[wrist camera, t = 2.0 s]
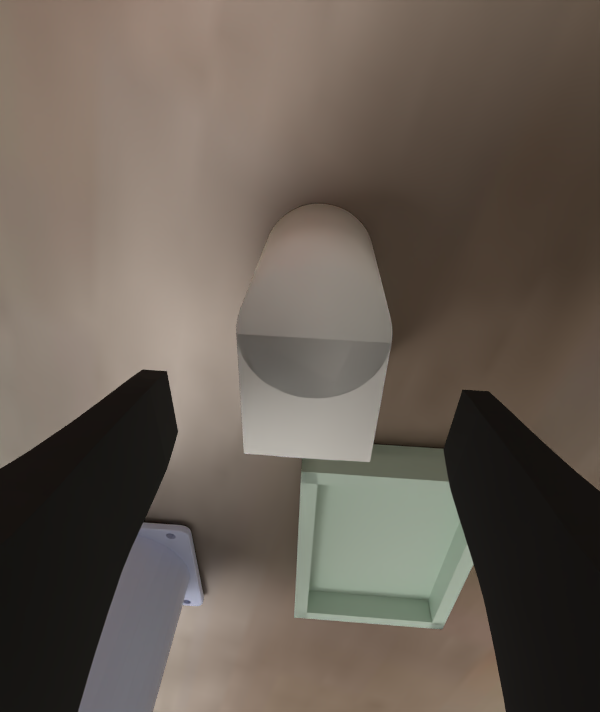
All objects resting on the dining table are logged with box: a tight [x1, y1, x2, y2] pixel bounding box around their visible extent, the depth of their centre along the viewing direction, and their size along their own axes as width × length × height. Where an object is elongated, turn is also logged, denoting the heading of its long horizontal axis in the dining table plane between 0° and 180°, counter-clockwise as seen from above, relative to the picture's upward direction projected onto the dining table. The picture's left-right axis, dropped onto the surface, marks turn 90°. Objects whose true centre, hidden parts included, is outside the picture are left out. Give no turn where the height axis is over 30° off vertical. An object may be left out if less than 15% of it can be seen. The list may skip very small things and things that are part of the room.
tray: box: [294, 444, 473, 629], centre depth 21 cm, size 8×12×2 cm
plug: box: [236, 204, 393, 462], centre depth 13 cm, size 8×4×5 cm, turn 178°
